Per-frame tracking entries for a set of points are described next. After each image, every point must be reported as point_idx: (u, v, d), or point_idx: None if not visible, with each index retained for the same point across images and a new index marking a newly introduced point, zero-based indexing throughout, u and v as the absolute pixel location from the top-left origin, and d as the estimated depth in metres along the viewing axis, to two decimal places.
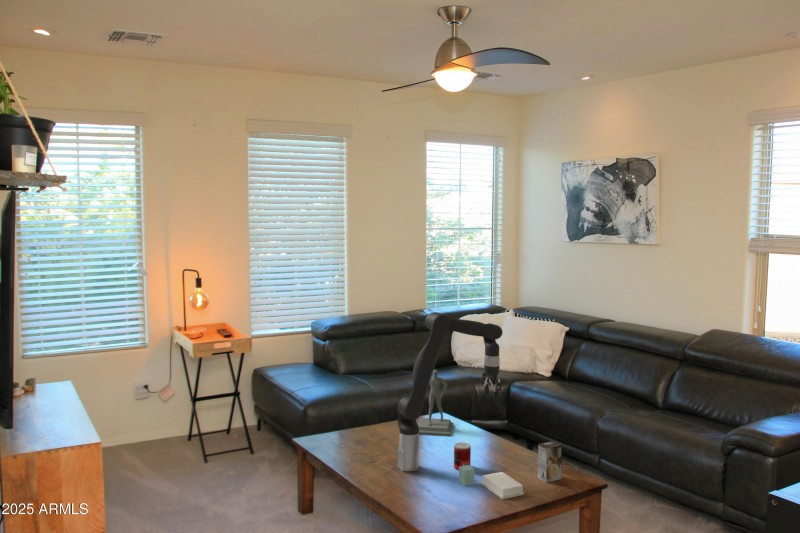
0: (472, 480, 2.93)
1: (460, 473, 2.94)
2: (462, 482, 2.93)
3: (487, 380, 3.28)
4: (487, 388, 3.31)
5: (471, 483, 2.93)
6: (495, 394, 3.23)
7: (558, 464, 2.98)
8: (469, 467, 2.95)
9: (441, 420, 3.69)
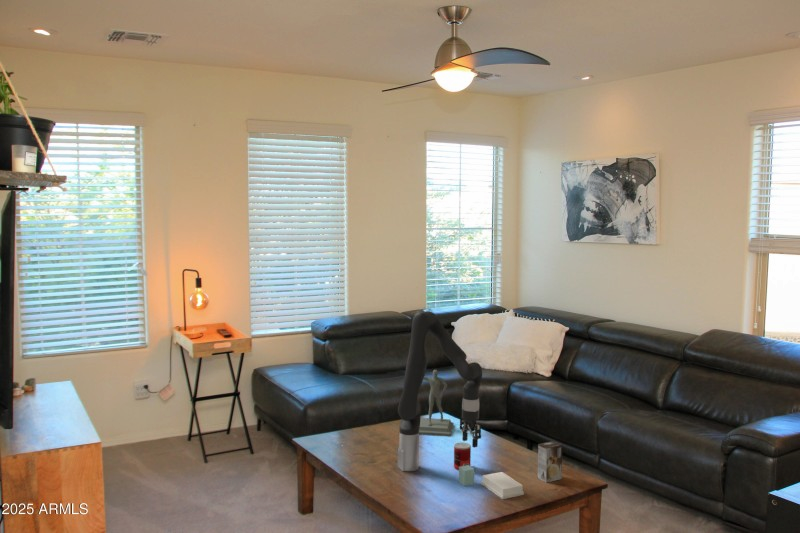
0: (472, 480, 2.93)
1: (460, 473, 2.94)
2: (462, 482, 2.93)
3: (465, 426, 2.93)
4: (465, 434, 2.97)
5: (471, 483, 2.93)
6: (474, 442, 2.88)
7: (558, 464, 2.98)
8: (469, 467, 2.95)
9: (441, 420, 3.69)
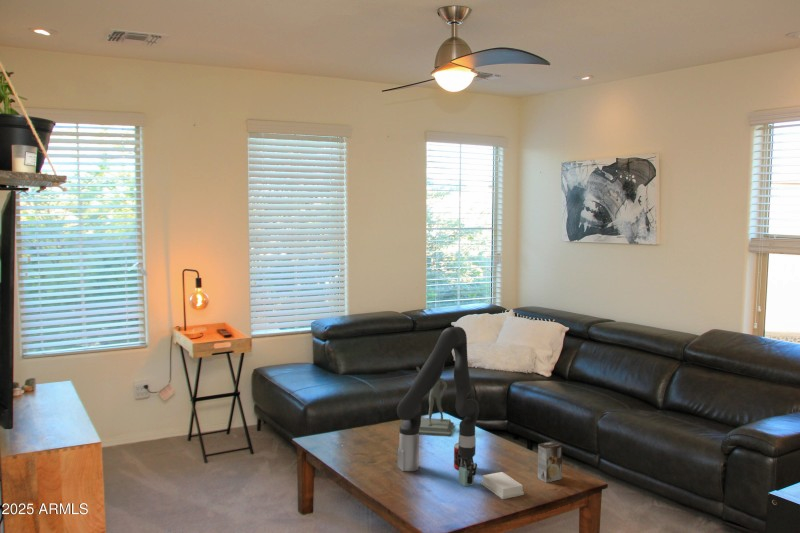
0: (472, 480, 2.93)
1: (460, 473, 2.94)
2: (462, 482, 2.93)
3: (462, 462, 2.94)
4: None
5: None
6: (469, 479, 2.91)
7: (558, 464, 2.98)
8: (469, 467, 2.95)
9: (441, 420, 3.69)
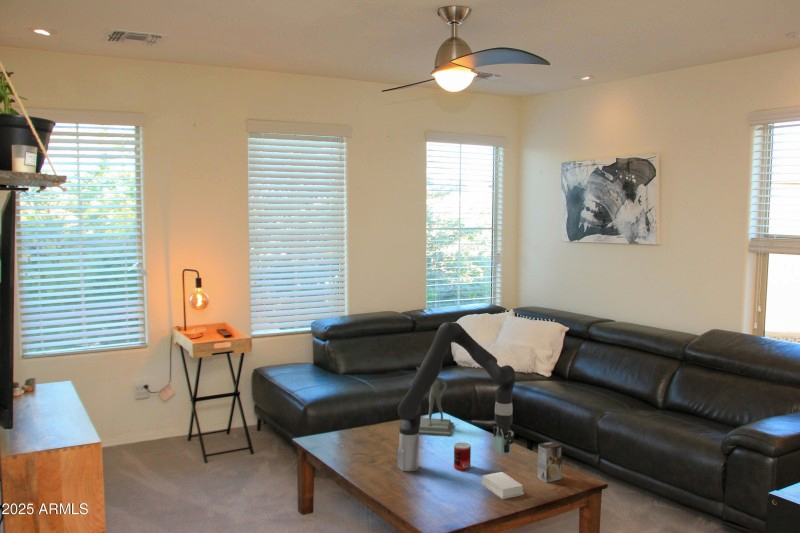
0: (509, 449, 2.85)
1: (497, 442, 2.87)
2: (499, 451, 2.85)
3: (499, 430, 2.86)
4: None
5: None
6: (506, 448, 2.83)
7: (558, 464, 2.98)
8: (506, 436, 2.87)
9: (441, 420, 3.69)
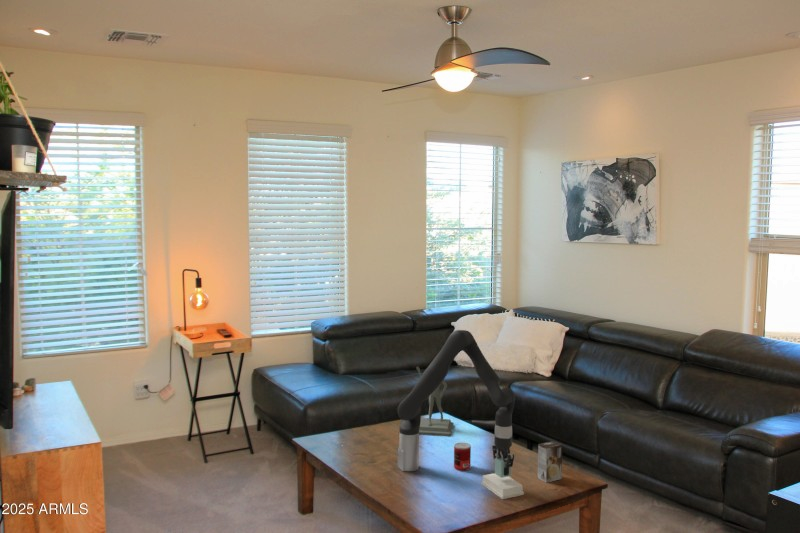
0: (509, 471, 2.86)
1: (496, 464, 2.87)
2: (498, 473, 2.86)
3: (498, 453, 2.87)
4: None
5: None
6: (505, 470, 2.84)
7: (558, 464, 2.98)
8: None
9: (441, 420, 3.69)
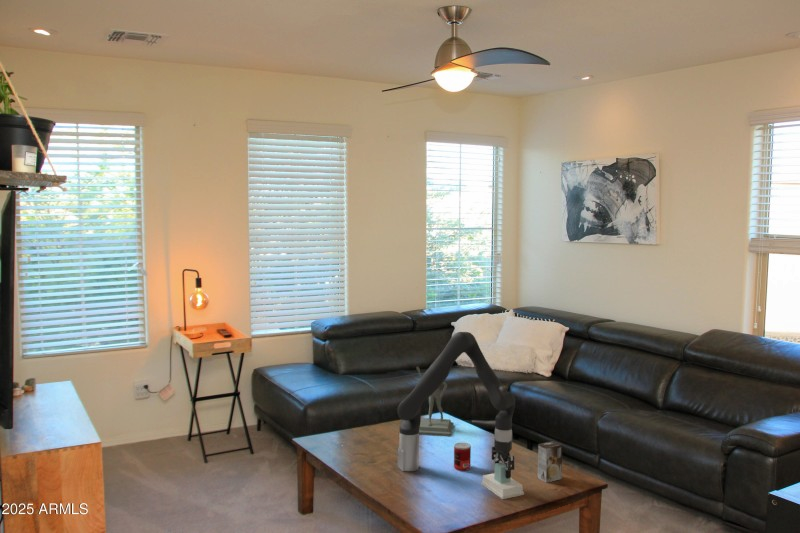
0: None
1: (496, 470, 2.88)
2: (498, 479, 2.86)
3: (498, 456, 2.88)
4: None
5: (507, 480, 2.86)
6: (507, 473, 2.83)
7: (558, 464, 2.98)
8: None
9: (441, 420, 3.69)
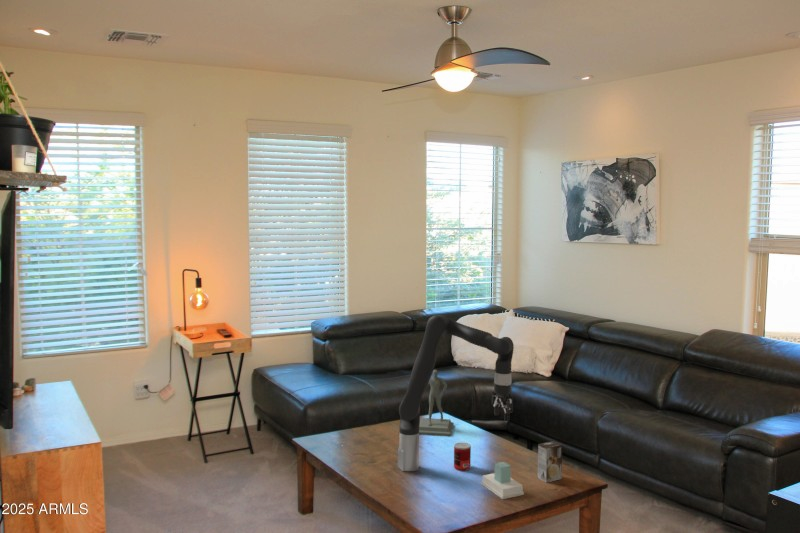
0: (508, 477, 2.86)
1: (496, 470, 2.88)
2: (498, 479, 2.86)
3: (497, 400, 2.95)
4: (497, 409, 2.98)
5: (507, 480, 2.86)
6: (506, 416, 2.90)
7: (558, 464, 2.98)
8: (505, 464, 2.88)
9: (441, 420, 3.69)
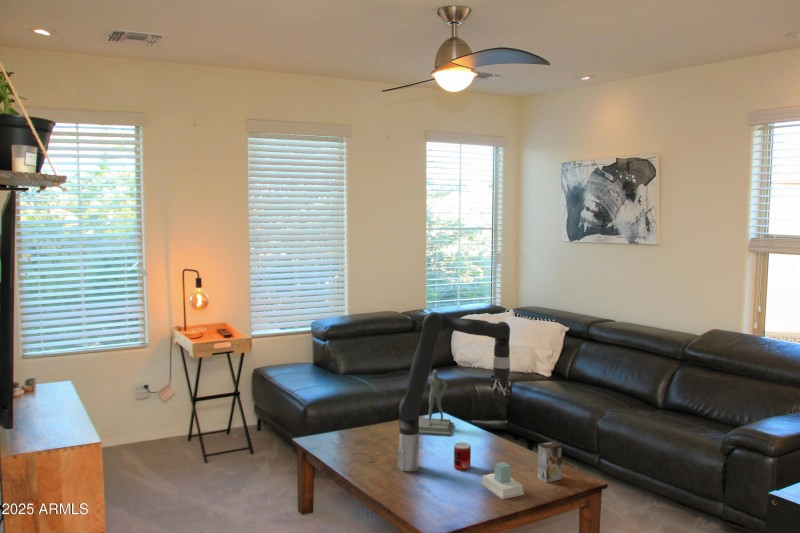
0: (508, 477, 2.86)
1: (496, 470, 2.88)
2: (498, 479, 2.86)
3: (496, 383, 3.04)
4: (496, 392, 3.07)
5: (507, 480, 2.86)
6: (505, 398, 2.99)
7: (558, 464, 2.98)
8: (505, 464, 2.88)
9: (441, 420, 3.69)
